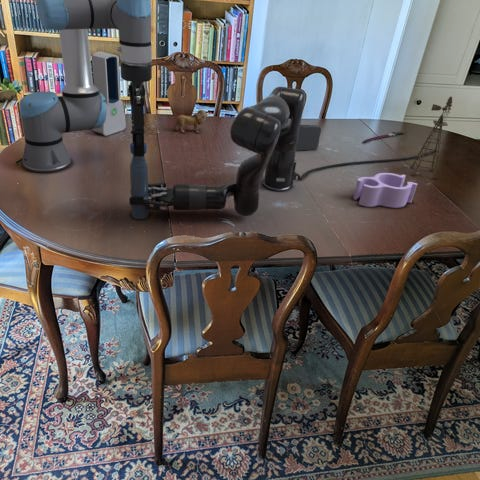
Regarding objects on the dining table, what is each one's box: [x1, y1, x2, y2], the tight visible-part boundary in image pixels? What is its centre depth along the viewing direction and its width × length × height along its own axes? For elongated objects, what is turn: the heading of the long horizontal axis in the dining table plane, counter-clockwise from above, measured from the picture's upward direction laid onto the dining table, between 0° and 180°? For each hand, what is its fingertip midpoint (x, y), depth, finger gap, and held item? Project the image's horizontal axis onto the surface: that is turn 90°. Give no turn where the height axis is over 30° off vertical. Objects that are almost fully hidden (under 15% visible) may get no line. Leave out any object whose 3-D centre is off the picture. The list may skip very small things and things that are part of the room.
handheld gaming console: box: [296, 124, 322, 151], centre depth 189 cm, size 23×3×10 cm, turn 108°
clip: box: [352, 172, 418, 209], centre depth 158 cm, size 20×12×7 cm, turn 109°
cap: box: [129, 142, 147, 155], centre depth 126 cm, size 4×4×2 cm
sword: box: [363, 131, 407, 144], centre depth 214 cm, size 31×3×1 cm, turn 126°
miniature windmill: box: [410, 96, 453, 179], centre depth 175 cm, size 9×8×30 cm
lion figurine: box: [171, 109, 207, 134], centre depth 196 cm, size 15×5×9 cm, turn 110°
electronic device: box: [91, 51, 127, 137], centre depth 182 cm, size 12×8×30 cm, turn 148°
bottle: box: [129, 154, 150, 220], centre depth 131 cm, size 5×5×21 cm
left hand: (138, 152), depth 126 cm, fingers closed on cap, 4 cm apart
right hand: (130, 196), depth 133 cm, fingers closed on bottle, 5 cm apart
